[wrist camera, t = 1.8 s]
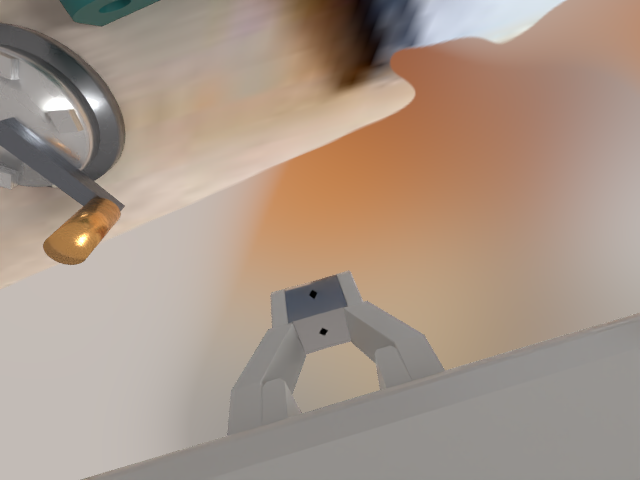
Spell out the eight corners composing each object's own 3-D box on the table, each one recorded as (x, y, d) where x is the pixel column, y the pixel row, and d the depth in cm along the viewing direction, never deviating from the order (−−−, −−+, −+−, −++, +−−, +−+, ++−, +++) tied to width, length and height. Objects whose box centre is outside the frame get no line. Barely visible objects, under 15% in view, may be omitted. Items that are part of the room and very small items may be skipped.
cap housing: (60, 4, 25) (45, 0, 24) (152, 162, 34) (146, 168, 32) (-108, 45, 25) (-137, 45, 23) (28, 195, 34) (15, 203, 32)
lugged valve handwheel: (-90, 97, 25) (-301, 126, 16) (-4, 9, 23) (-186, -20, 14) (97, 228, 35) (37, 295, 25) (169, 174, 33) (133, 224, 23)
